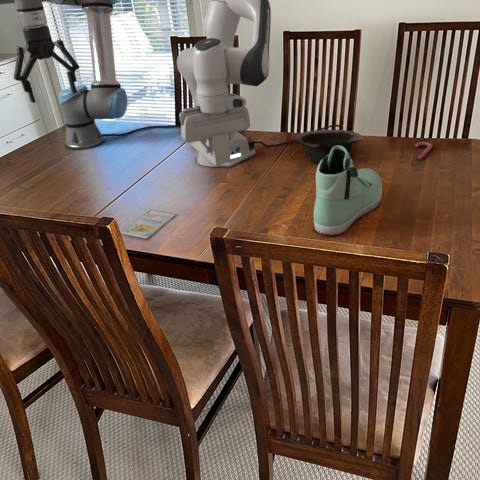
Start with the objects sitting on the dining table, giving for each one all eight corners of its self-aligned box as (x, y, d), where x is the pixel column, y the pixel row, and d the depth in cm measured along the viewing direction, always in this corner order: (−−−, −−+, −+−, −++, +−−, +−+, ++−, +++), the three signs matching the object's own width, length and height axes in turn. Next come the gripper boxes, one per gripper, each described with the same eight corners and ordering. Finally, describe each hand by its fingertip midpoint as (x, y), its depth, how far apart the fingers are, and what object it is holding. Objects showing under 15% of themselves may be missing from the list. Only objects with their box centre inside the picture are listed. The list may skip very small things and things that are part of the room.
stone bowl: (320, 174, 160) (319, 147, 155) (281, 157, 180) (279, 132, 176) (378, 156, 168) (378, 130, 164) (334, 141, 189) (333, 118, 184)
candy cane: (403, 158, 167) (404, 154, 167) (417, 144, 177) (418, 140, 177) (421, 161, 164) (421, 157, 163) (434, 146, 174) (435, 142, 173)
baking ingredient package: (120, 232, 135) (151, 209, 146) (120, 233, 135) (151, 210, 146) (145, 237, 131) (175, 214, 143) (146, 239, 131) (175, 215, 143)
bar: (188, 143, 156) (185, 117, 151) (202, 140, 157) (199, 114, 153) (216, 165, 138) (213, 137, 134) (231, 161, 140) (228, 134, 135)
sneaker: (389, 187, 148) (396, 123, 138) (356, 242, 123) (361, 168, 112) (346, 181, 154) (350, 119, 144) (306, 232, 129) (307, 161, 118)
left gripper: (-5, 33, 136) (18, 108, 147) (79, 21, 148) (94, 90, 159) (-12, 31, 141) (11, 103, 152) (70, 19, 153) (86, 87, 164)
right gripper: (182, 112, 127) (188, 161, 134) (251, 98, 134) (253, 145, 141) (174, 107, 132) (181, 154, 139) (241, 94, 139) (244, 139, 146)
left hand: (54, 97), depth 155 cm, fingers open, 13 cm apart
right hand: (218, 150), depth 140 cm, fingers closed on bar, 5 cm apart
